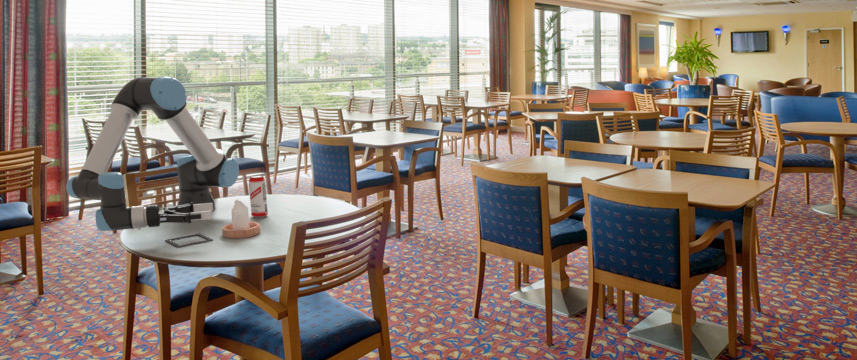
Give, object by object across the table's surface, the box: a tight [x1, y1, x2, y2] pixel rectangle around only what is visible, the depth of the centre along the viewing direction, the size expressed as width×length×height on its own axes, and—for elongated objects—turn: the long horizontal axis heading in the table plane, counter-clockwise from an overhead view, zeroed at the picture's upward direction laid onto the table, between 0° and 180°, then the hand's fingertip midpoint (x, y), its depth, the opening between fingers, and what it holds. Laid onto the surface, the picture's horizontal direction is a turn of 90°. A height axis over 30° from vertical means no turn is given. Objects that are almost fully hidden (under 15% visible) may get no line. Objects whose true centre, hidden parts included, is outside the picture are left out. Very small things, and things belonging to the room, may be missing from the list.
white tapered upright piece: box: [231, 199, 250, 230], centre depth 236 cm, size 6×12×6 cm
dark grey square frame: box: [164, 232, 214, 248], centre depth 230 cm, size 12×12×1 cm
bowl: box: [221, 221, 261, 239], centre depth 237 cm, size 13×13×3 cm
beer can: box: [248, 174, 269, 219], centre depth 261 cm, size 6×6×16 cm
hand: (212, 210), depth 233 cm, fingers open, 13 cm apart
